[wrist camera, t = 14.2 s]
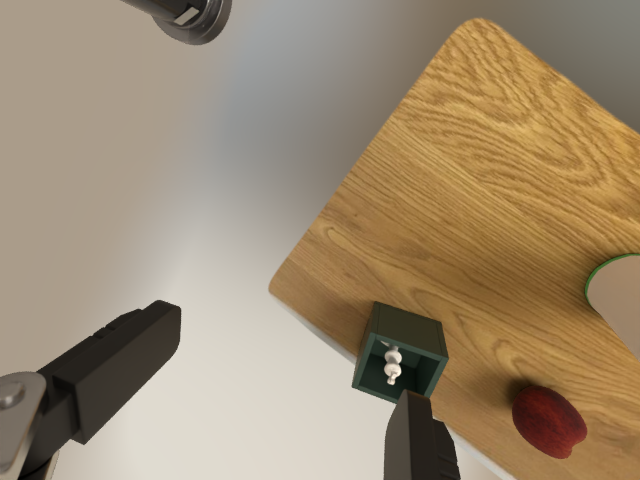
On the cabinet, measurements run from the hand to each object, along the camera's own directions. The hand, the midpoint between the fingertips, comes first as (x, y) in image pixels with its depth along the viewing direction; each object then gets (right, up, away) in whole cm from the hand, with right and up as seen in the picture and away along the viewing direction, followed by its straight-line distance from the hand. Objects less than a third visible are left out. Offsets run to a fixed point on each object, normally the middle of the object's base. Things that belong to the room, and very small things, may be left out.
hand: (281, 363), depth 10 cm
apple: (+32, -18, +32) cm, 48 cm away
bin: (+13, -10, +34) cm, 38 cm away
